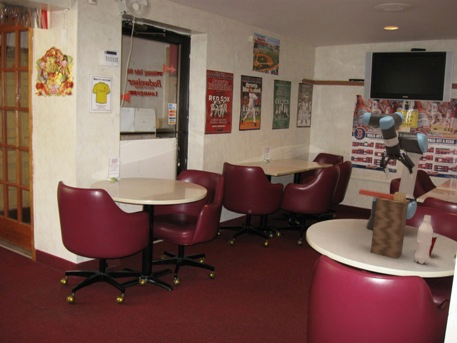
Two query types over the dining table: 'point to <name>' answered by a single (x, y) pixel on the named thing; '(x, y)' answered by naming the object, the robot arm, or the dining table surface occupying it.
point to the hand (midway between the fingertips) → (399, 178)
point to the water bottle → (424, 241)
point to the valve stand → (389, 227)
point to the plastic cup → (432, 242)
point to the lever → (385, 195)
